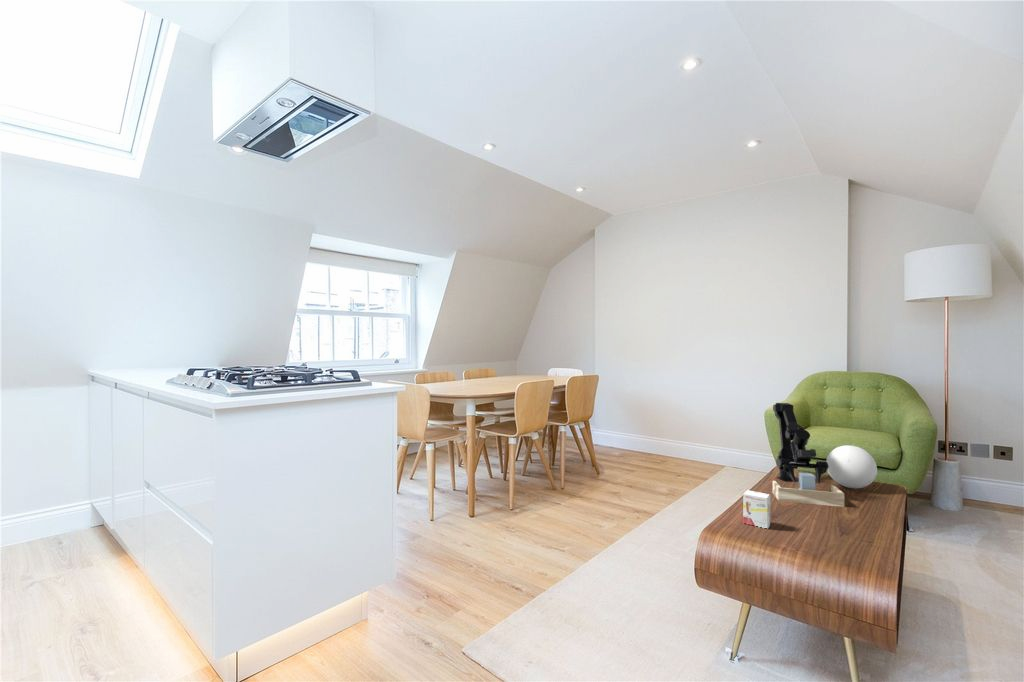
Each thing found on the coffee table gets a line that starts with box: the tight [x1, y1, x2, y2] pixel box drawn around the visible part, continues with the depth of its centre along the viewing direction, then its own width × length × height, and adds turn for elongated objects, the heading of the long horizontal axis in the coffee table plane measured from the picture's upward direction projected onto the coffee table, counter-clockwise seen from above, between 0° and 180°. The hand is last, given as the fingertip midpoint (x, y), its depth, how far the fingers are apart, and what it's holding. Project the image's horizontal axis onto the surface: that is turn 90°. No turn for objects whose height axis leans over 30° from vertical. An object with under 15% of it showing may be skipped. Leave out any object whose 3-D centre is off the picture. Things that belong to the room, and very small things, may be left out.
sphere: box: [826, 444, 878, 489], centre depth 223 cm, size 20×20×20 cm
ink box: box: [742, 489, 771, 530], centre depth 176 cm, size 9×5×12 cm, turn 50°
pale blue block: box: [798, 472, 816, 490], centre depth 204 cm, size 5×5×11 cm
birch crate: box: [772, 480, 845, 508], centre depth 204 cm, size 12×24×6 cm, turn 72°
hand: (806, 482), depth 204 cm, fingers open, 9 cm apart
